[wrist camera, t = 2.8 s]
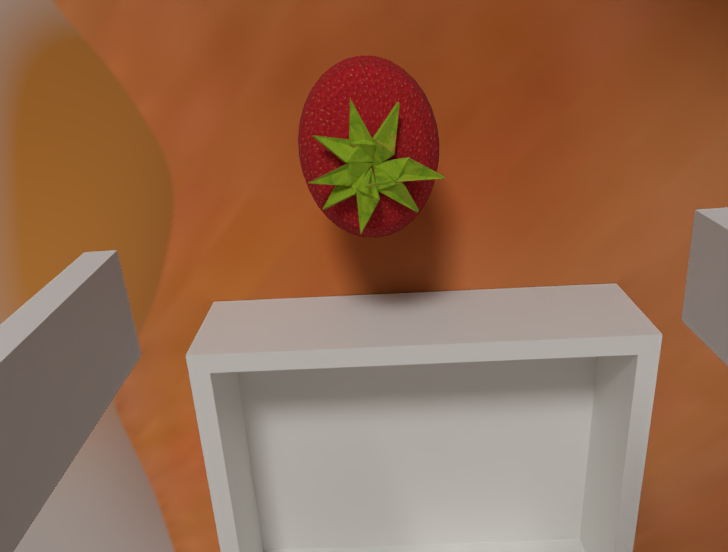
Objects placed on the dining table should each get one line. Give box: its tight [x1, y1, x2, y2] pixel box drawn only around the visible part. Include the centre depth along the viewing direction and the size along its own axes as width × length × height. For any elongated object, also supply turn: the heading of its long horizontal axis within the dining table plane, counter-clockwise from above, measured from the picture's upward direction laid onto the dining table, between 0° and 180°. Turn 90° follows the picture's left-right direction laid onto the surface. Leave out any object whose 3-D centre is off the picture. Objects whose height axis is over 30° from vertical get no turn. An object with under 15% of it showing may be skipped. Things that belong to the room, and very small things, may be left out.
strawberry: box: [298, 56, 445, 237], centre depth 28 cm, size 6×8×10 cm
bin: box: [186, 283, 662, 552], centre depth 36 cm, size 18×22×6 cm
